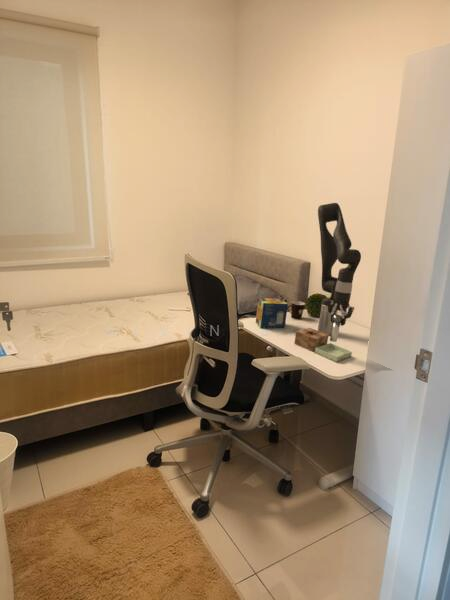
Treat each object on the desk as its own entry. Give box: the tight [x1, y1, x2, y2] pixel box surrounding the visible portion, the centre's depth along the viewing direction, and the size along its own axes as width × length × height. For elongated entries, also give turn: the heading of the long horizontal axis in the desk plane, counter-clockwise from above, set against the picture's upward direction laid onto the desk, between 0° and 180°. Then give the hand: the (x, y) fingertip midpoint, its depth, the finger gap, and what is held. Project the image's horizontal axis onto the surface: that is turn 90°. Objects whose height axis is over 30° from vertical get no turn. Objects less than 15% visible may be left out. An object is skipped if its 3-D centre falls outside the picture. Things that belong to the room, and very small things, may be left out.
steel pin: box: [329, 313, 342, 343], centre depth 192 cm, size 5×5×13 cm
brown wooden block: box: [294, 327, 329, 353], centre depth 205 cm, size 12×12×7 cm
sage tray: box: [314, 342, 353, 363], centre depth 196 cm, size 13×13×3 cm
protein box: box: [255, 297, 289, 329], centre depth 230 cm, size 10×15×16 cm
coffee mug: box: [287, 300, 306, 320], centre depth 250 cm, size 12×9×10 cm
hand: (337, 323), depth 192 cm, fingers closed on steel pin, 5 cm apart
